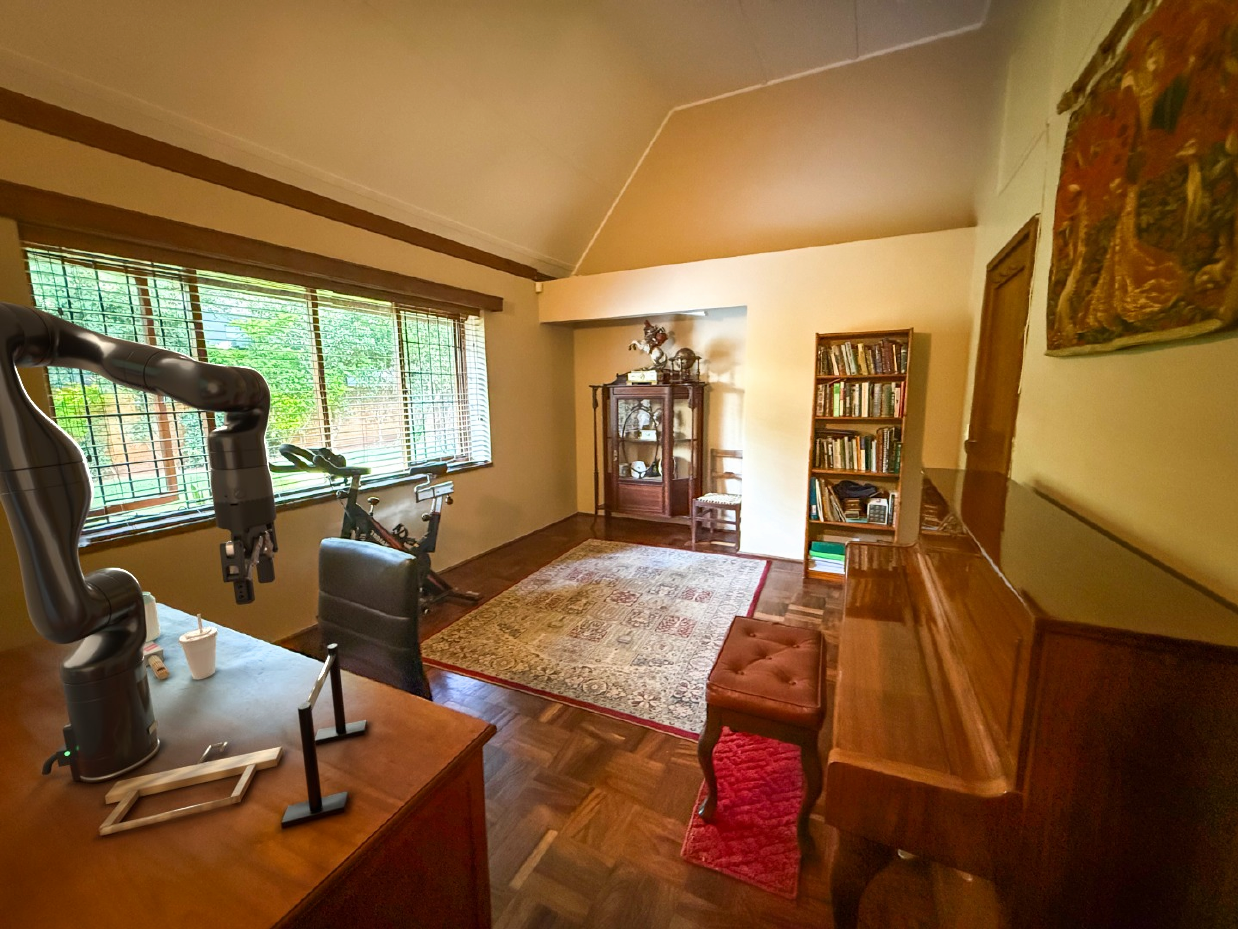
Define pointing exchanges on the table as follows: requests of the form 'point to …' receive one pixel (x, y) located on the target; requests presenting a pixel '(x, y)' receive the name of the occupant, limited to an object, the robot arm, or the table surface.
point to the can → (151, 617)
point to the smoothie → (200, 650)
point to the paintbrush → (155, 659)
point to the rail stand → (341, 730)
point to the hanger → (183, 777)
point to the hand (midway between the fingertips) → (257, 592)
